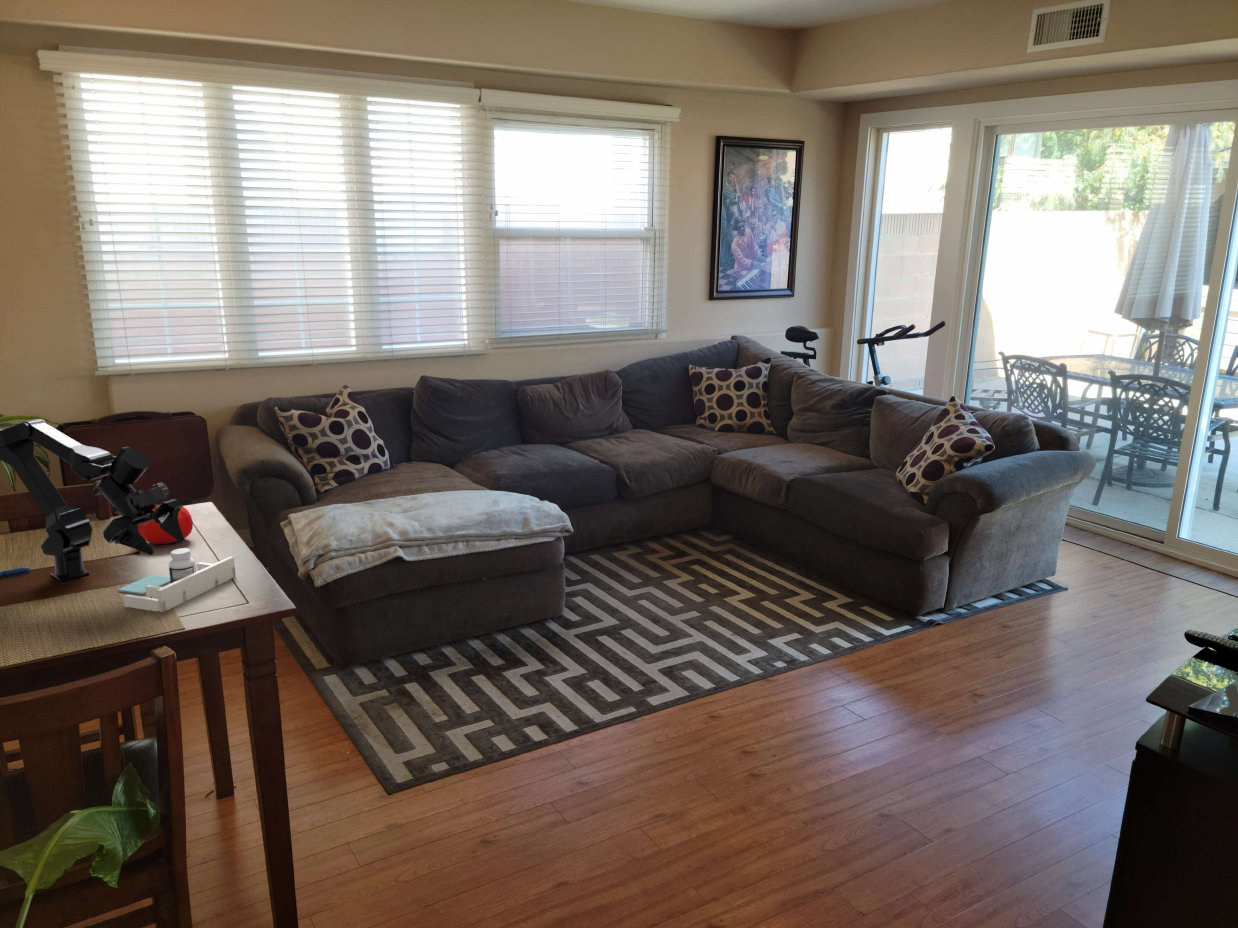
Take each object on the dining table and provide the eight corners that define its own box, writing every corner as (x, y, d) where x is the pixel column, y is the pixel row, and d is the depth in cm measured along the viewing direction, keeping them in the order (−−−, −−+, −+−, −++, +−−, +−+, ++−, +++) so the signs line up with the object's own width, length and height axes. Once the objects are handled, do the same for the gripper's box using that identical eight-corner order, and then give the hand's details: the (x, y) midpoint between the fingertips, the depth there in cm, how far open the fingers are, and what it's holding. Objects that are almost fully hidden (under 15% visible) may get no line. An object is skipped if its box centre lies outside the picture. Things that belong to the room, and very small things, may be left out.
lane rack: (125, 606, 195) (122, 585, 194) (200, 571, 217) (199, 552, 216) (162, 612, 193) (160, 590, 192) (235, 576, 214) (233, 556, 213)
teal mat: (118, 591, 204) (117, 589, 204) (151, 576, 213) (151, 574, 213) (143, 595, 202) (143, 593, 202) (176, 580, 211) (175, 578, 211)
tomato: (190, 532, 247) (186, 495, 244) (198, 544, 237) (194, 506, 234) (135, 540, 239) (131, 502, 237) (141, 553, 229) (137, 513, 227)
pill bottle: (177, 587, 207) (173, 547, 205) (201, 586, 208) (197, 546, 205) (167, 595, 202) (163, 554, 200) (192, 595, 202) (188, 554, 200)
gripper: (107, 484, 192) (154, 538, 192) (172, 465, 210) (215, 514, 209) (82, 516, 196) (129, 569, 196) (148, 495, 214) (191, 543, 213)
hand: (168, 547), depth 203 cm, fingers open, 9 cm apart
